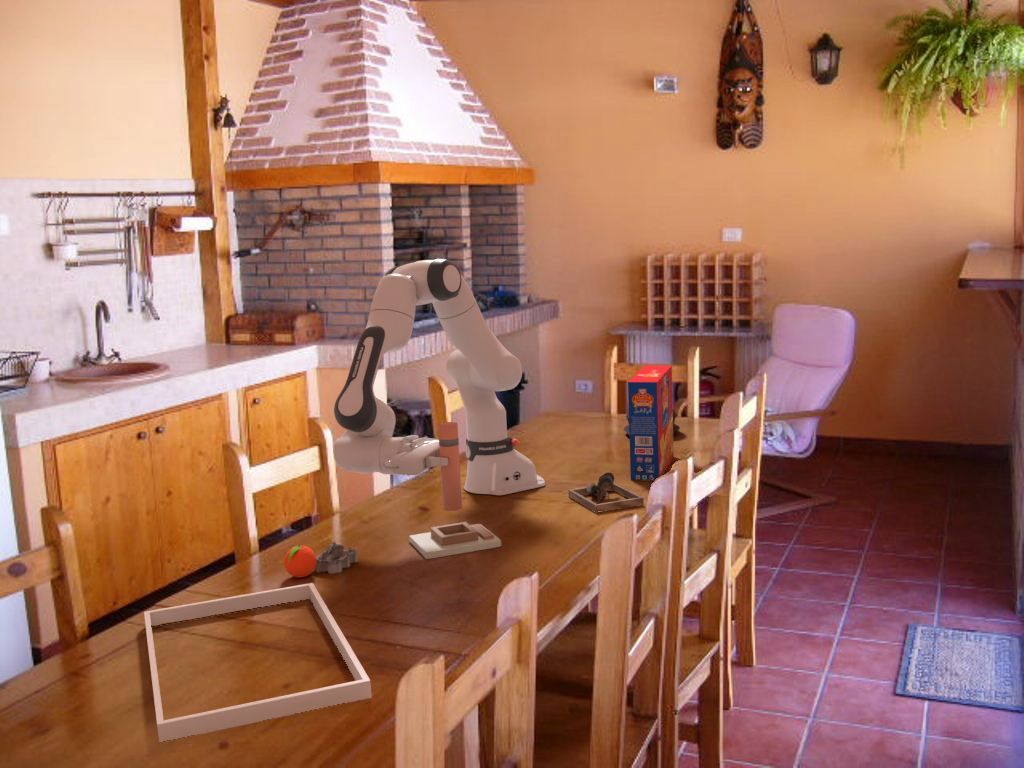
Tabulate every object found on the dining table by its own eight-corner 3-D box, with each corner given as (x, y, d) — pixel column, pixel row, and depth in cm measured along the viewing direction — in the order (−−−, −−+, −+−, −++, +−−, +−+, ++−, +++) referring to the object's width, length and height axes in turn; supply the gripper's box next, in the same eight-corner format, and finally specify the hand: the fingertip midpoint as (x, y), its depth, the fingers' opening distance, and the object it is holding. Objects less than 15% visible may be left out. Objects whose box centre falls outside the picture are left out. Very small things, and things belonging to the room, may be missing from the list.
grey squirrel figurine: (620, 498, 274) (621, 483, 282) (603, 477, 273) (605, 463, 281) (596, 513, 277) (598, 497, 285) (580, 492, 275) (582, 477, 283)
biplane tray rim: (313, 596, 218) (312, 582, 218) (371, 697, 172) (370, 680, 172) (145, 626, 207) (143, 611, 206) (159, 743, 161) (157, 724, 160)
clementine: (304, 585, 225) (301, 553, 224) (276, 582, 227) (273, 551, 226) (323, 572, 232) (321, 541, 231) (296, 570, 235) (293, 539, 234)
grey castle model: (336, 557, 243) (335, 540, 242) (363, 560, 240) (362, 543, 239) (308, 572, 234) (306, 554, 233) (336, 576, 230) (335, 558, 230)
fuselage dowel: (458, 504, 249) (454, 421, 245) (464, 509, 245) (460, 424, 241) (440, 507, 247) (435, 423, 244) (446, 511, 243) (441, 427, 240)
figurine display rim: (614, 489, 286) (614, 482, 286) (643, 505, 271) (643, 497, 271) (568, 497, 282) (568, 489, 281) (595, 513, 266) (595, 505, 266)
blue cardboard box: (659, 481, 293) (656, 382, 288) (630, 480, 295) (627, 381, 291) (673, 456, 319) (671, 365, 315) (647, 456, 322) (645, 365, 317)
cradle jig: (481, 530, 257) (480, 516, 256) (501, 546, 244) (500, 531, 243) (409, 541, 251) (408, 527, 250) (426, 559, 238) (425, 544, 237)
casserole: (631, 425, 366) (630, 401, 364) (685, 426, 360) (684, 402, 359) (616, 442, 342) (615, 416, 341) (674, 443, 337) (673, 417, 335)
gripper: (378, 453, 238) (434, 455, 233) (415, 433, 257) (468, 435, 252) (380, 480, 239) (436, 483, 234) (416, 458, 258) (469, 460, 253)
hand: (453, 458), depth 244 cm, fingers closed on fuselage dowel, 4 cm apart
